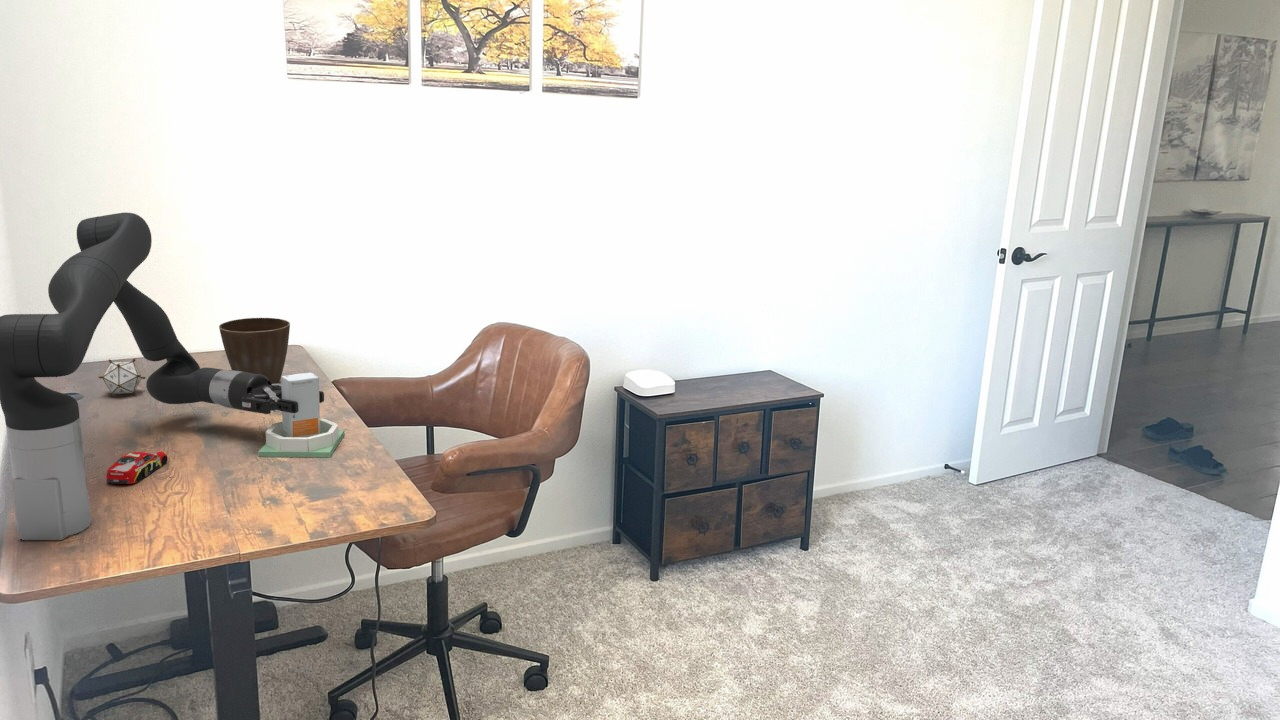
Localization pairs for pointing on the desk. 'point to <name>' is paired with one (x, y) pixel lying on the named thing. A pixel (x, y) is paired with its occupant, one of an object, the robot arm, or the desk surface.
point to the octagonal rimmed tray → (302, 442)
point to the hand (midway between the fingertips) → (310, 402)
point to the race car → (135, 466)
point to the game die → (122, 377)
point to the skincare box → (301, 405)
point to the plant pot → (256, 345)
